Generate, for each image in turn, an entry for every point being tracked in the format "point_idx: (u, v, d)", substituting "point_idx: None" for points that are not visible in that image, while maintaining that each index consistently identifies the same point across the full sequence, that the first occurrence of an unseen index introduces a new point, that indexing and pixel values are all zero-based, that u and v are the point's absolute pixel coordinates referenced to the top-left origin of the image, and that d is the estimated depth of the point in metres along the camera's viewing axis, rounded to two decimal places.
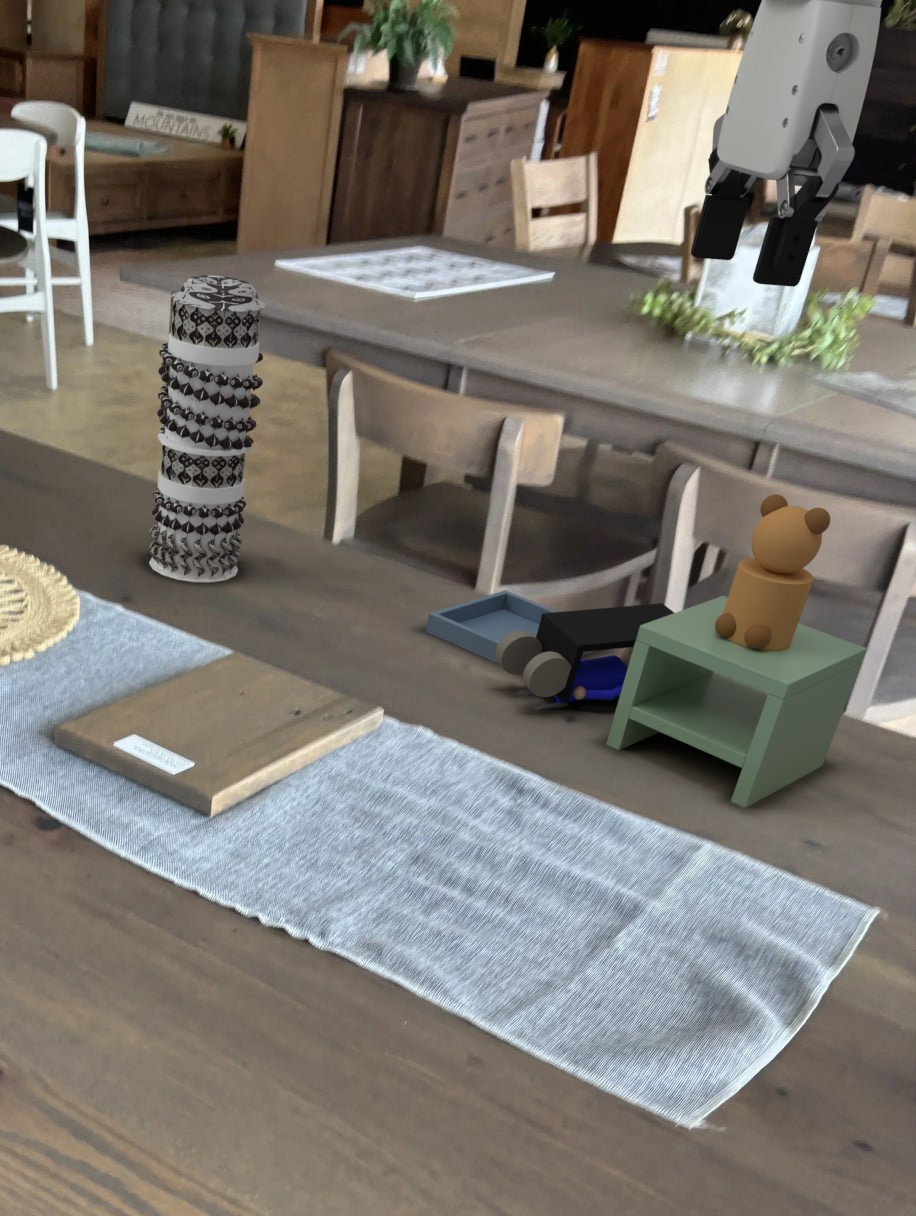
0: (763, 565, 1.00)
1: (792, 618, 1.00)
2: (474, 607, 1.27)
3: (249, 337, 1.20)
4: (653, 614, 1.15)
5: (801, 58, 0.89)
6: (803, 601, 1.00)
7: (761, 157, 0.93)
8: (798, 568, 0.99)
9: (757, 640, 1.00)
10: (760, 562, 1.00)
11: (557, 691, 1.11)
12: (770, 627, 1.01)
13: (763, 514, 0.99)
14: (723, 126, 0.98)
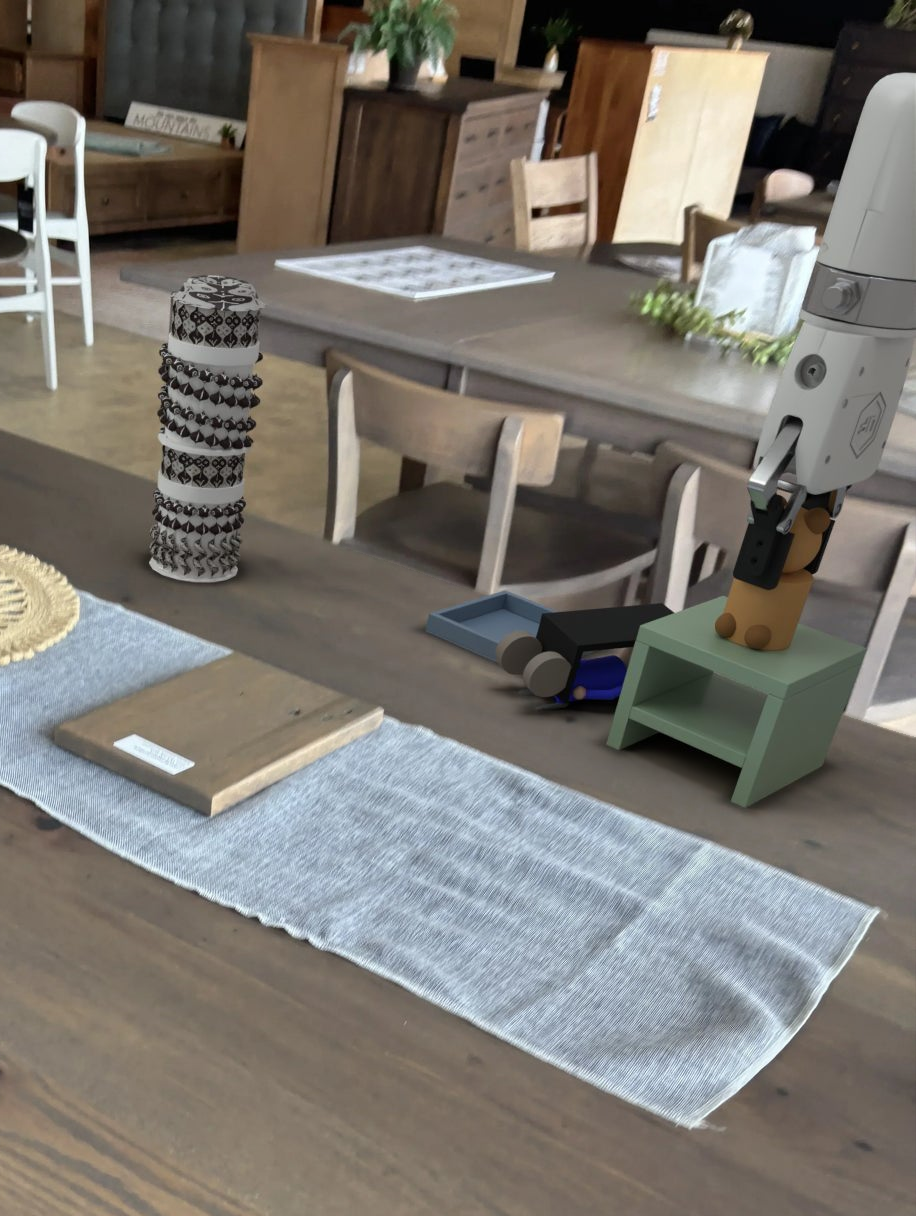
0: None
1: (792, 618, 1.00)
2: (474, 607, 1.27)
3: (249, 337, 1.20)
4: (653, 614, 1.14)
5: None
6: (803, 601, 1.00)
7: None
8: (798, 568, 0.99)
9: (757, 640, 1.00)
10: None
11: (557, 691, 1.11)
12: (770, 627, 1.01)
13: None
14: None
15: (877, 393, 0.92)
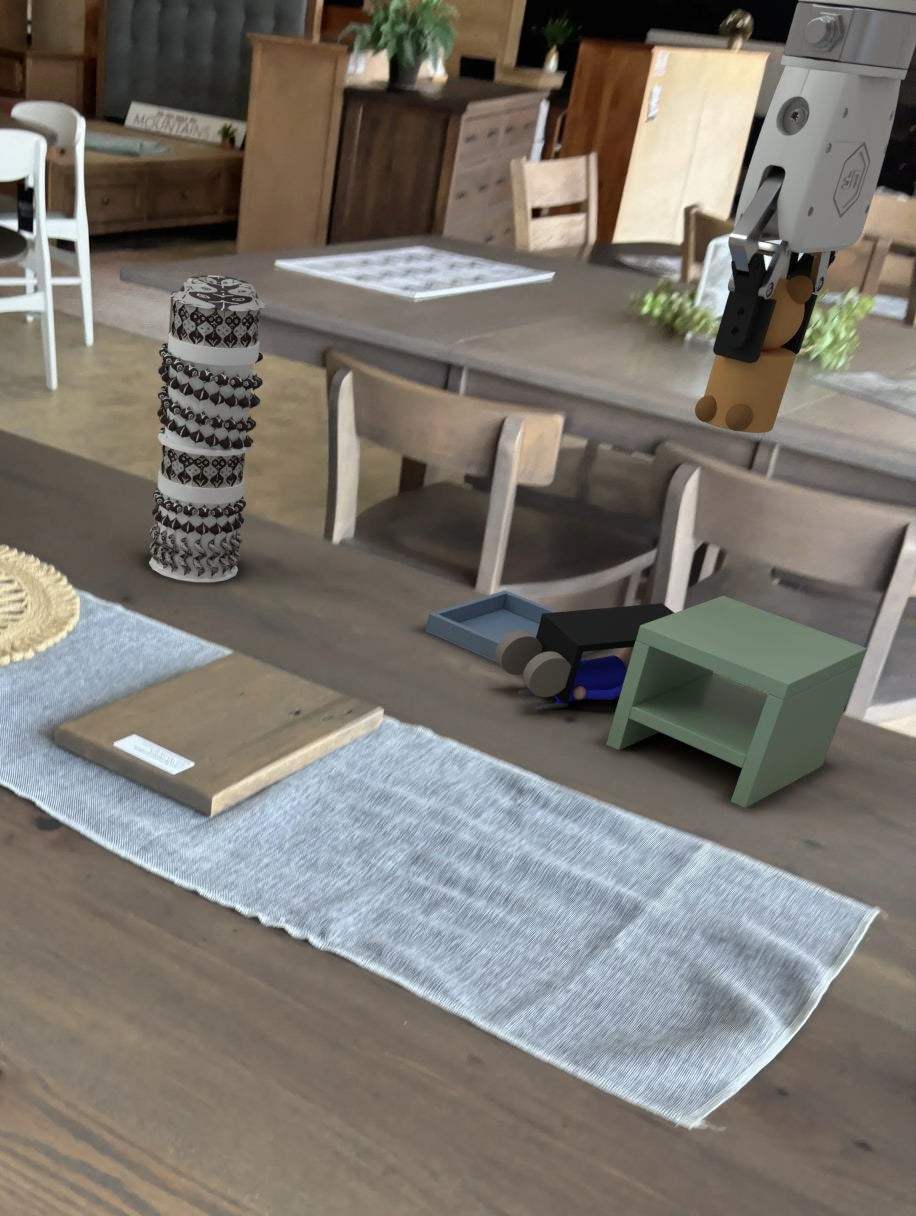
0: None
1: (774, 396, 0.98)
2: (474, 607, 1.27)
3: (248, 337, 1.20)
4: (653, 614, 1.15)
5: None
6: (785, 379, 0.97)
7: None
8: (780, 342, 0.96)
9: (738, 419, 0.98)
10: None
11: (557, 691, 1.11)
12: (751, 406, 0.98)
13: None
14: None
15: (860, 143, 0.89)
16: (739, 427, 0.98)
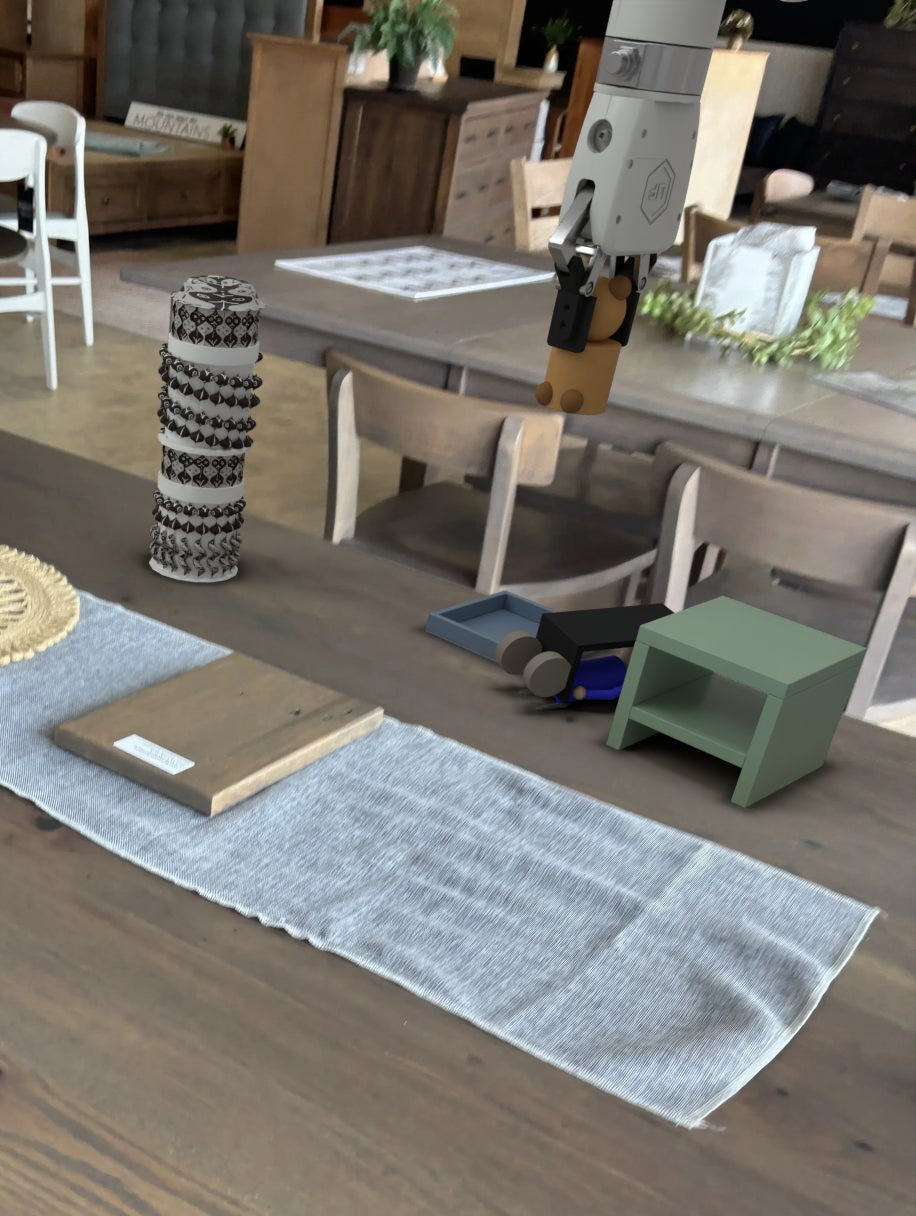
0: None
1: (601, 382, 1.10)
2: (474, 607, 1.27)
3: (248, 337, 1.20)
4: (653, 614, 1.15)
5: None
6: (611, 367, 1.10)
7: None
8: (605, 334, 1.09)
9: (570, 403, 1.10)
10: None
11: (557, 691, 1.11)
12: (582, 391, 1.10)
13: None
14: None
15: (663, 160, 1.01)
16: (571, 410, 1.10)
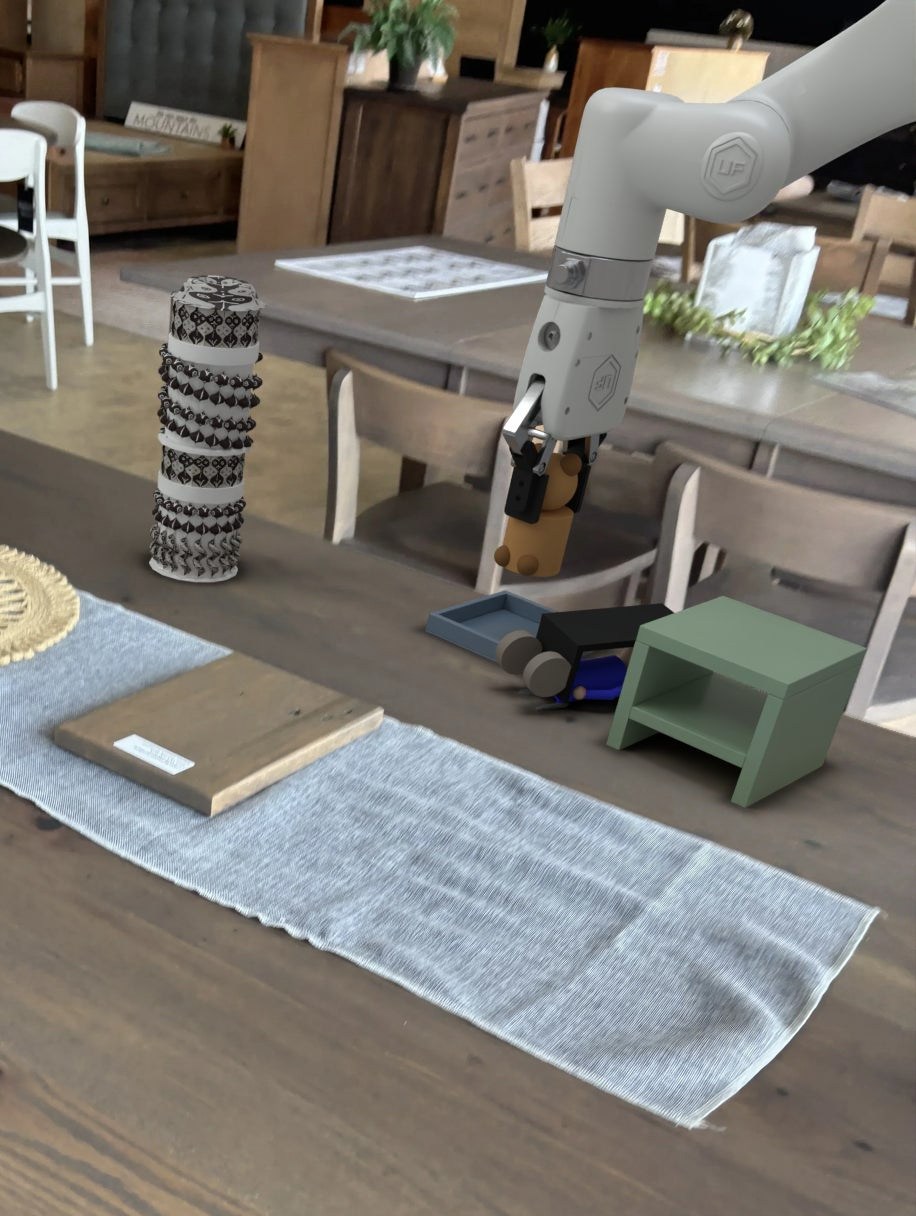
0: None
1: (555, 548, 1.18)
2: (474, 607, 1.27)
3: (248, 337, 1.20)
4: (653, 614, 1.15)
5: None
6: (564, 534, 1.18)
7: None
8: (557, 506, 1.17)
9: (525, 567, 1.18)
10: None
11: (557, 691, 1.11)
12: (537, 556, 1.18)
13: None
14: None
15: (609, 355, 1.10)
16: (527, 573, 1.19)
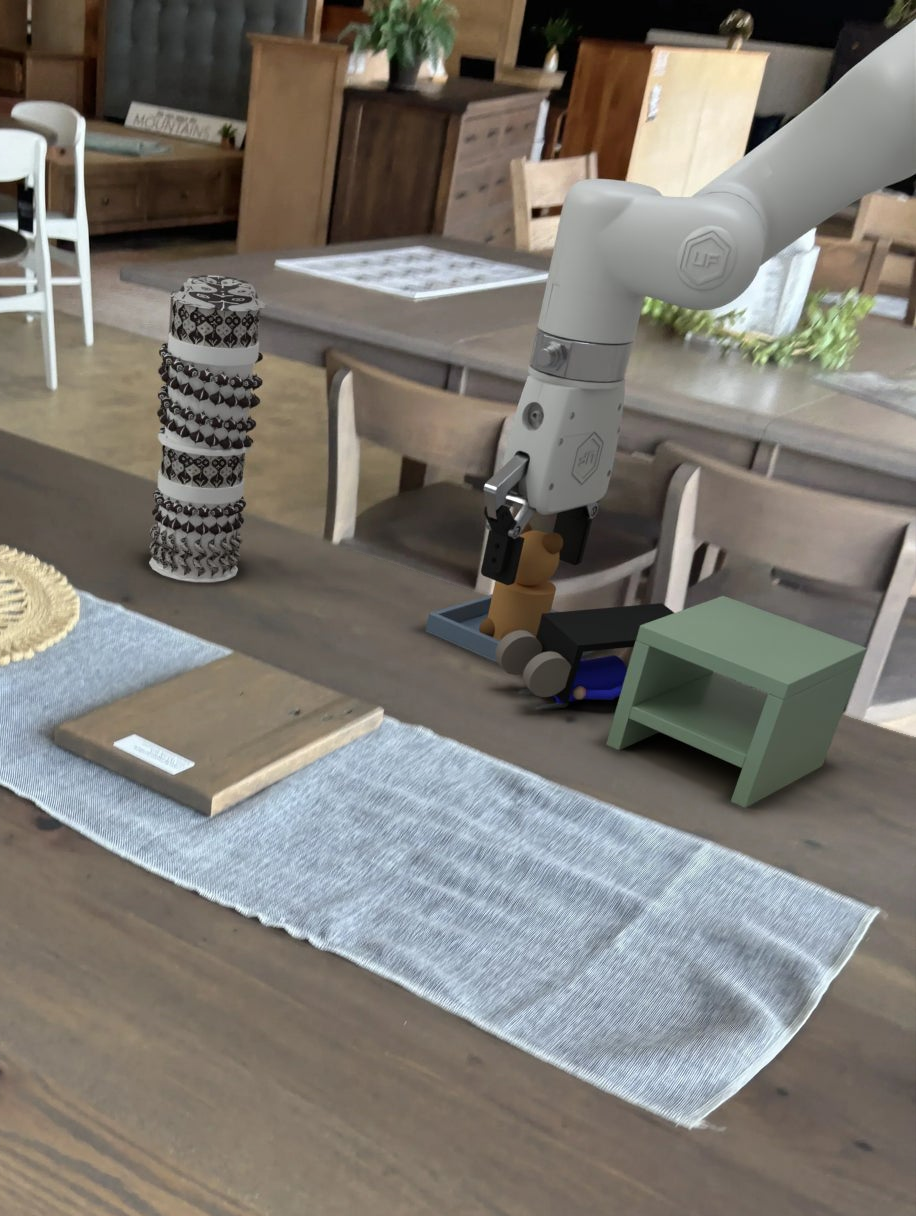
0: None
1: (538, 622, 1.22)
2: (474, 607, 1.27)
3: (248, 337, 1.20)
4: (653, 614, 1.15)
5: None
6: (547, 609, 1.22)
7: None
8: (540, 582, 1.20)
9: None
10: None
11: (557, 691, 1.11)
12: None
13: None
14: None
15: (591, 432, 1.13)
16: None
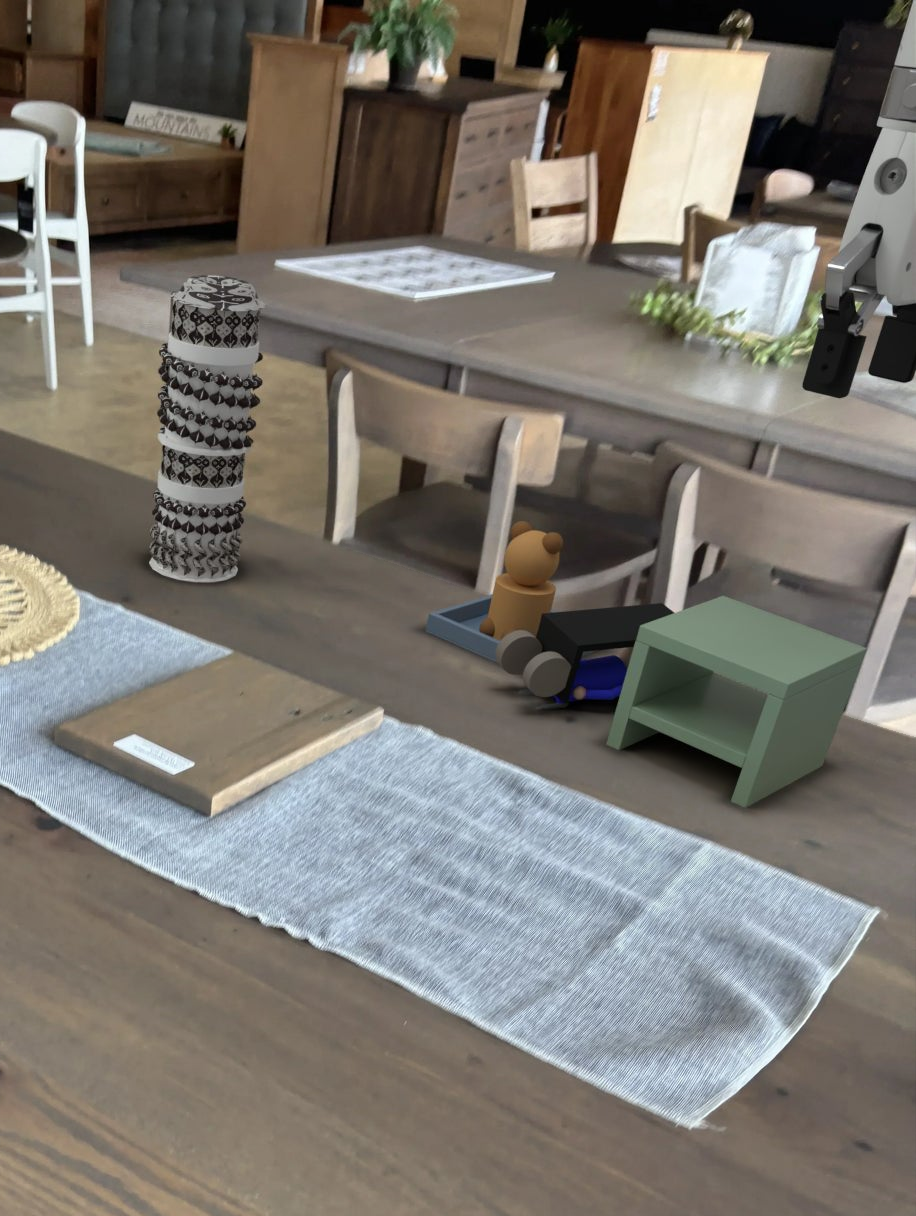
0: (513, 579, 1.21)
1: (538, 622, 1.22)
2: (474, 607, 1.27)
3: (248, 337, 1.20)
4: (653, 614, 1.14)
5: None
6: (547, 609, 1.22)
7: None
8: (540, 582, 1.20)
9: None
10: (511, 576, 1.21)
11: (557, 691, 1.11)
12: None
13: (512, 537, 1.21)
14: None
15: None
16: None
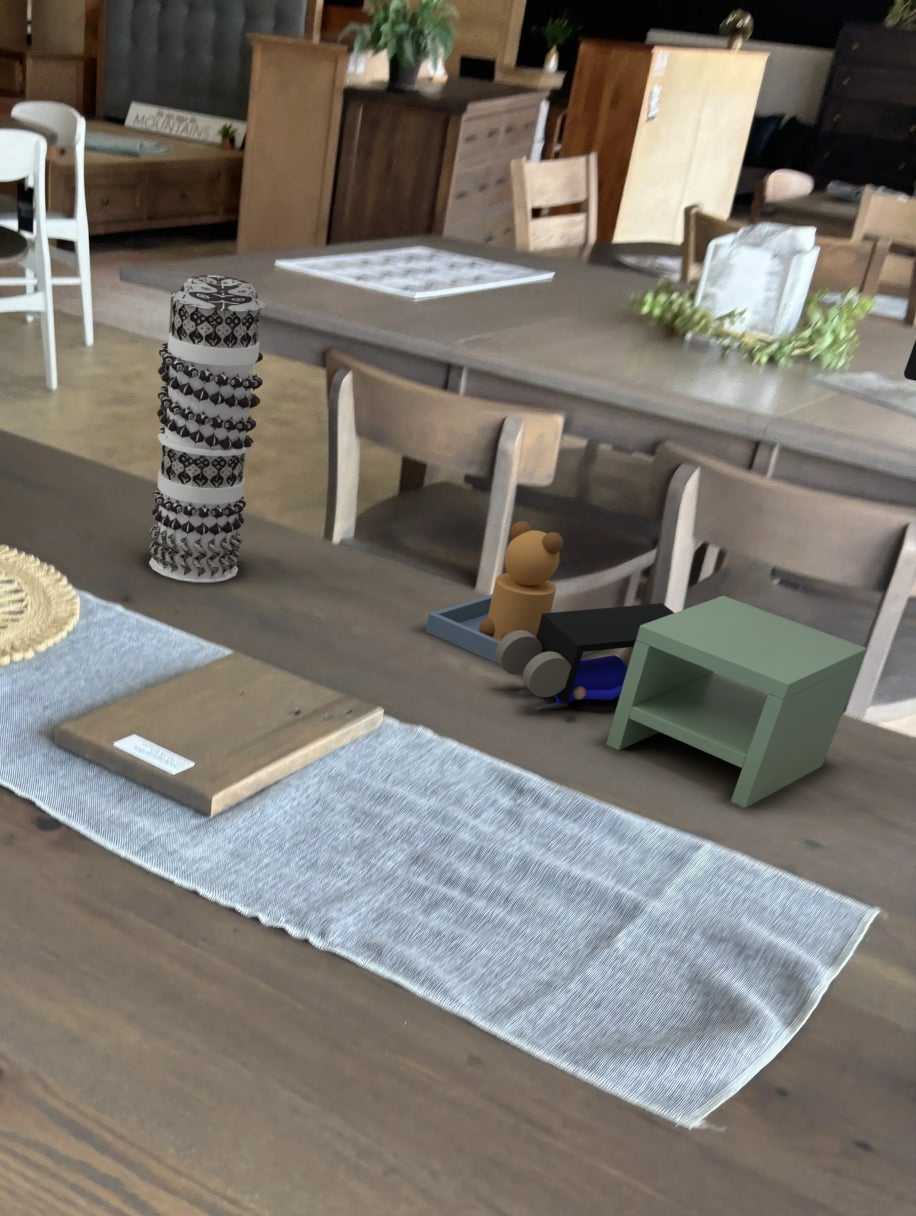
0: (513, 579, 1.21)
1: (538, 622, 1.22)
2: (474, 607, 1.27)
3: (248, 337, 1.20)
4: (653, 614, 1.15)
5: None
6: (547, 609, 1.22)
7: None
8: (540, 582, 1.20)
9: None
10: (511, 576, 1.21)
11: (557, 691, 1.11)
12: None
13: (512, 537, 1.21)
14: None
15: None
16: None
